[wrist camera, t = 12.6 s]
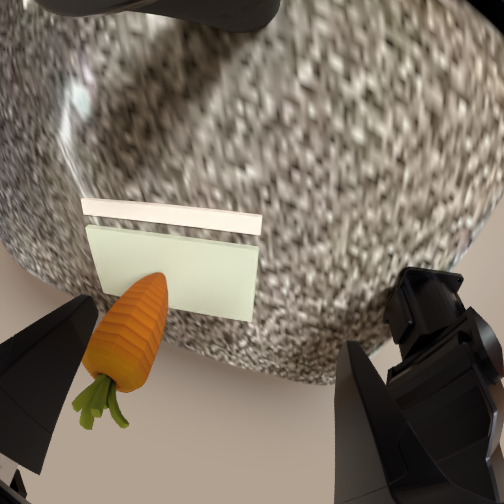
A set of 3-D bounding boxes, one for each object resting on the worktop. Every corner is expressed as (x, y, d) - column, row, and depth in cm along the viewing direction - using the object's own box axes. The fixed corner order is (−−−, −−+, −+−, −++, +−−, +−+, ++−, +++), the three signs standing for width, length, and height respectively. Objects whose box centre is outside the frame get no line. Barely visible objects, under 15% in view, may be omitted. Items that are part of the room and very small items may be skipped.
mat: (259, 246, 23) (258, 250, 22) (252, 317, 27) (251, 321, 27) (88, 224, 24) (85, 227, 24) (106, 289, 28) (103, 292, 28)
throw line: (262, 215, 21) (261, 217, 21) (260, 232, 22) (260, 235, 22) (83, 197, 22) (80, 199, 22) (86, 212, 23) (83, 214, 23)
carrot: (168, 243, 23) (76, 408, 11) (198, 288, 25) (138, 449, 13) (127, 259, 25) (39, 398, 12) (156, 299, 27) (92, 437, 15)
